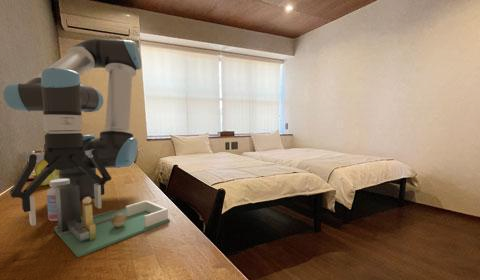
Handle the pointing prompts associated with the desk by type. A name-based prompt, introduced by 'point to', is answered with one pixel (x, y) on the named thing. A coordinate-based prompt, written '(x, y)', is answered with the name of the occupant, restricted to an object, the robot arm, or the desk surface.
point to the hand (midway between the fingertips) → (68, 214)
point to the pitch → (107, 232)
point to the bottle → (41, 166)
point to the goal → (156, 211)
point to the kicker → (74, 212)
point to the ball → (119, 220)
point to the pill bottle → (54, 198)
